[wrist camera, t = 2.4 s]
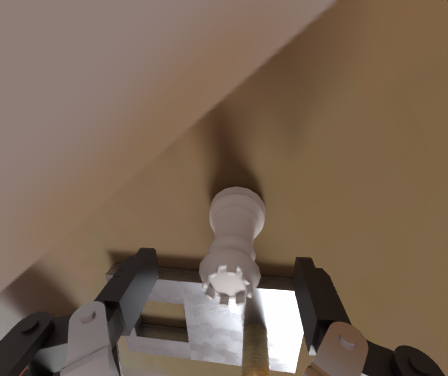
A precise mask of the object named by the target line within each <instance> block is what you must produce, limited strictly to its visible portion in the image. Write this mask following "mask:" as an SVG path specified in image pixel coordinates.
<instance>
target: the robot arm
mask: <svg viewBox="0 0 448 376" xmlns="http://www.w3.org/2000/svg"><path fill="white" fill-rule="evenodd" d="M158 274H159V267H158V261H157V255H156V250H155V249H154V248H140V249H139V251H138V252H137V254H136V255H135V256H131V257H129V258H128V259H127V260H125V261H124V262H123V263H122V264H121V265H120V267H119V268H118V269H117V271H116V272H115V274H114V275H113V277H112V278H111V279H110V280H109V282H108V283H107V284H106V286H105V287H104V288H103V290H102V291H101V292H100V294H99V295H98V296H97V298H96V299H95V300H94V301H93V302H89V303H87V304H85V305H83V306H81V307H80V308H78V309H77V310H76V311H75V312H74V313H73V315H69V316H64V317H60V318H55V319H52V318H51V316H50V314H49V313H48V312H37V313H34V314H31V315H29V316H27V317H26V318H24V319H22V320H21V321H20V322H18V323H17V324H16V325H15V326H14V327H13V328H12V329H11V330H10V331H9V332H8V334H7V335H6V336H5V337H4V338H3V339H2V340H1V341H0V376H20V374H21V373H22V372H23V370H24V369H25V368H26V367H27V368H26V370H25V371H24V372H23V373H22V375H21V376H122V371H121V364H120V357H119V350H118V344H117V342H118V340H119V338H120V336H121V335H122V336H130V334H131V332H132V330H133V328H134V325H135V323H136V321H137V319H138V317H139V315H140V313H141V311H142V309H143V307H144V305H145V303H146V301H147V299H148V297H149V295H150V293H151V291H152V289H153V287H154V285H155V283H156V281H157V278H158ZM293 290H294V294H295V298H296V303H297V307H298V311H299V315H300V320H301V324H302V328H303V332H304V337H305V341H306V345H307V349H308V354H309V355H314V356H315V357H314V359H313V361H312V363H311V365H310V366H308V367H307V369H306V371H305V372H304V374H303V376H445V375H444V374H443V372H442V370H441V369H440V368H439V366H438V365H437V364H436V363H435V362H434V361H433V360H432V359H431V358H430V357H429V356H427V355H426V354H425V353H423V352H422V351H420V350H418V349H416V348H413V347H411V346H405V345H403V346H399V347H397V348H396V349H395V351H392V350H389V349H387V348H384V347H382V346H379V345H376V344H374V343H372V342H370V341H368V340H366V339H365V337H364V336H363V335H362V333H361V332H360V331H359V330H358V329H356V328H355V327H354V326H352V324H351V323H350V320H349V318H348V316H347V314H346V311H345V309H344V307H343V305H342V303H341V300H340V298H339V296H338V294H337V292H336V289H335V287H334V286H333V283H332V281H331V278H330V276H329V275H328V274H327V273H326V272H325V271H324V270H323V269H322V268H315V265H314V263H313V260H312V258H308V257H296V260H295V267H294V274H293Z"/></svg>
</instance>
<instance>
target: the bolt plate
mask: <svg viewBox="0 0 448 376" xmlns="http://www.w3.org/2000/svg"><path fill="white" fill-rule="evenodd" d="M120 265H121V264H116V263H114V265H113V266H112V267H111V268H110V270H109V271H108V272H107V273H106V274H105V275H106V278H107V282H109V280H110V279H111V278H112V277H113V275H114V274H115V272H116V271H117V269H118V268H119V267H120ZM202 284H203V282H202V280H201V277H200V274H199V270H189V269H176V268H164V267H159V274H158V278H157V281H156V283H155V285H154V287H153V289H152V291H151V293H150V295H149V297H148V299H147V301H157V302H167V303H177V304H184V307H185V315H186V323H187V328H179V327H170V326H162V325H153V324H144V323H143V322H142V318H141V314H140V315H139V317H138V319H137V321H136V323H135V325H134V328H133V330H132V332H131V334H130V336H125V339H126V342H127V346H128V349H129V351H132V352H140V353H147V354H155V355H163V356H170V357H178V358H185V359H193V360H200V361H208V362H216V363H223V364H231V365H238V366H242V372H241V376H270V370H276V371H284V372H291V373H295V370H296V365H297V360H298V355H299V350H300V346H301V341H302V336H303V328H302V324H301V320H300V315H299V311H298V307H297V303H296V298H295V294H294V290H293V278H285V277H273V276H261V277H260V280H259V284H258V286H257V287H256V288H255V289H254V290H253V295H252V298H249V297H246V304H244V305H241V306H239V307H237V305H236V303H235V302H236V299H232V300H229V306H228V307H224V306H219V301H220V297H218V296H216V295H215V297H214V299H213V300H211V301H210V300H209V299H208V298H207V297H206V296H205V291H206V288H202Z"/></svg>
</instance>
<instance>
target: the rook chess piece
mask: <svg viewBox="0 0 448 376" xmlns="http://www.w3.org/2000/svg"><path fill="white" fill-rule="evenodd" d="M265 213H266V212H265V207H264V203H263V201H262V200H261V199H260V197H259V196H258V194H256V193H254V192H253V191H251V190H249V189H247V188H242V187H231V188H226V189H224V190H222V191H221V192H219V193H218V194H216V196H215V197H214V199H213V200H212V202H211V207H210V212H209V221H210V224H211V227H212V229H213V230H214V233H215V240H214V241H213V242H212V244H211V245H210V246H209V252H208V255H207V256H205V258H204V259H203V260H202V262H201V263H200V268H199V274H200V277H201V280H202V282H203V284H202V288H206V291H205V296H206V297H207V298H208V299H209V300H210V301H211V300H213V299H214V297H215V295H216V296H218V297H220V301H219V306H224V307H228V306H229V300H232V299H236V302H235V303H236V305H237V307H239V306H241V305H244V304H246V297H249V298H252V295H253V290H254V289H255V288H256V287H257V286H258V284H259V280H260V277H261V275H260V270H259V266H258V265H257V264H256V263H255V262H254V261H255V258H256V254H255V250H254V247H253V246H252V244H253V240H254V238H255V237H256V236H257V235H258V234H259V233H260V231H261V230H262V228H263V225H264V221H265Z"/></svg>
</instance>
